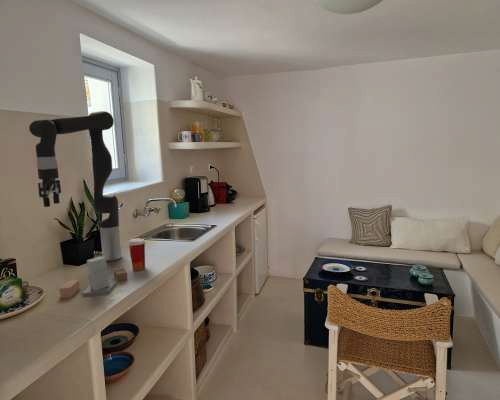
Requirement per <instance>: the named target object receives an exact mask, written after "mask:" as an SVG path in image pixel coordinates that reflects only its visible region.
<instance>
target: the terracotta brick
mask: <svg viewBox="0 0 500 400" xmlns="http://www.w3.org/2000/svg"><path fill="white" fill-rule="evenodd" d="M80 289H81V287H80V280H79V279H71V280H68V281H66V282H65V283H64V284H63V285H61V286H60V287H59V289H58V290H59V294H60V295H59V296H60V297H59V298H61V299H62V298H72V297H73V296H74V295H75V294H76V293H77V292H78V291H79V290H80Z"/></svg>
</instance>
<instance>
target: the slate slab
mask: <svg viewBox="0 0 500 400" xmlns="http://www.w3.org/2000/svg"><path fill="white" fill-rule="evenodd" d="M116 285H117V281H109V286H107V287H104V288H102V289H99V290H96V291H95V290H93V289H91V287H90V284H89V285H88V286H87V287H86V289H84V291H83V292H82V293H81V294H82V295H81V296H82V297H89V296H103V295H110V294H111V292H112V291H113V289H114V288H115V287H116Z"/></svg>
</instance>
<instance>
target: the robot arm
mask: <svg viewBox="0 0 500 400" xmlns="http://www.w3.org/2000/svg"><path fill="white" fill-rule="evenodd" d="M114 122H115V121H114V117H113V115H112V114H111V113H110V112H109V111H103V110H101V111H100V110H99V111H95V112H94V111H93V112H90V113H89V114H88V115H83V116H82V115H80V116H67V117H59V118H54V119H41V120H40V119H39V120H38V119H37V120H34V121H32V122H31V123H30V124H29V127H28V130H29V132H30V133H31V134H32V135H33V136H34V137H37V138H40V141H39V142H38V143H36V145H35V154H36V168H37V175H38V179H39V180H42V182H38V183H37V187H38V197H39V198H42V201H43V202H42V203H43V207H44V208H49V207H51V202H50V201H51V200H50V194H52V200H53V204H54V205H55V204H56V205H57V204H60V194H61V193H62V190H61V189H62V188H61V180H60V179H59V165H58V161H57V156H56V148H55V147H56V142H57V136H58V135H66V134H73V133H78V132H83V131H87V130H88V135H89V140H90V148H91V149H90V150H91V163H92V174H93V207H94V208H93V209H94V212H95V213H96V214H98V215H99V214H101V215H102V214H109V217H107V218H105V219H102V220H100V221H99V233H100V243H101V252H102V257H105V258H106V262H107V261H108V262H110V261H117V260H120V259H121V258H122V257H123V255H122V244H121V234H120V225H119V224H120V222H119V221H120V217H119V213H120V212H119V200H118V197H117V196H116V195H113V194H111V195H110V194H109V195H104V187H105V184H106V182H107V181H108V179H109V177H110V176H111V174H112V171H113V159H112V158H113V157H112V155H111V152H110V150H109V149H108V147H107V146H106V143H105V141H104V135H103V131H107V130H110V129H111V128H112V127H114Z"/></svg>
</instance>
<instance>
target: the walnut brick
mask: <svg viewBox="0 0 500 400" xmlns="http://www.w3.org/2000/svg"><path fill="white" fill-rule="evenodd" d="M127 273H128V272H127V271H126V270H125V268H124V267H122V266H121V267H116V268H113V278H114V280H115V282H116V284H119V283H124V282H127V281H128V274H127Z"/></svg>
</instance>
